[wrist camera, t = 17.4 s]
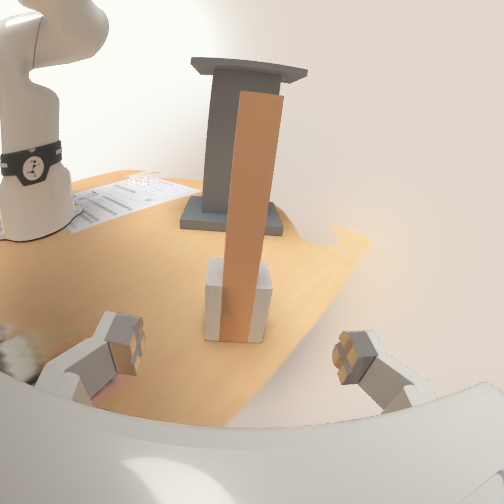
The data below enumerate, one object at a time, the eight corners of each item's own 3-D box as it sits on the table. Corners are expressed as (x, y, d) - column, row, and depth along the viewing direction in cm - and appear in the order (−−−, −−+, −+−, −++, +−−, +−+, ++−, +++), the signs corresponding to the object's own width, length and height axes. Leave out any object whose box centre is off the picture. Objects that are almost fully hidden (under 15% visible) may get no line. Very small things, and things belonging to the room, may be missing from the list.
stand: (281, 235, 44) (307, 69, 31) (180, 228, 42) (191, 57, 29) (272, 209, 54) (290, 78, 42) (190, 203, 52) (201, 69, 40)
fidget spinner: (121, 185, 61) (121, 182, 60) (134, 178, 66) (134, 176, 66) (146, 187, 60) (146, 184, 60) (157, 180, 66) (157, 177, 66)
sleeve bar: (304, 99, 14) (291, 101, 18) (219, 88, 14) (222, 93, 17) (261, 342, 24) (258, 313, 27) (204, 340, 23) (207, 310, 26)
